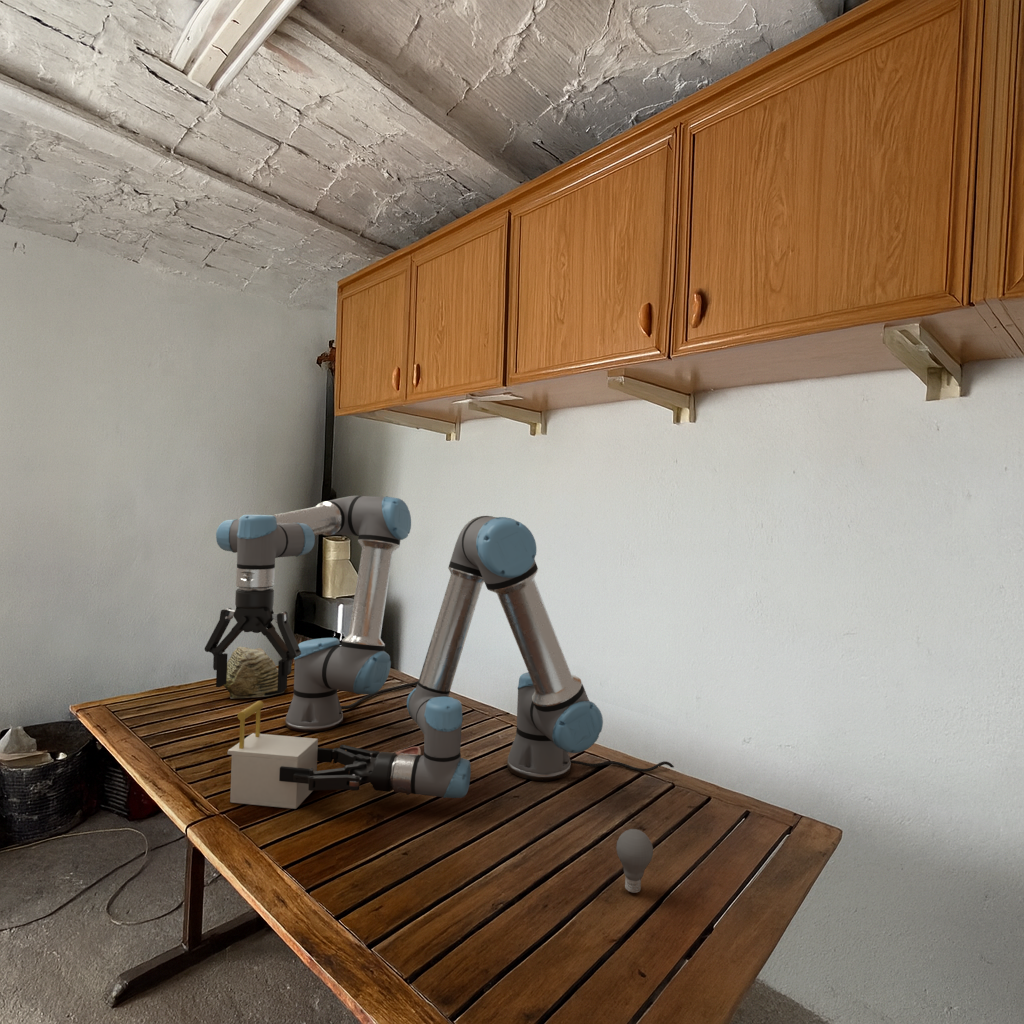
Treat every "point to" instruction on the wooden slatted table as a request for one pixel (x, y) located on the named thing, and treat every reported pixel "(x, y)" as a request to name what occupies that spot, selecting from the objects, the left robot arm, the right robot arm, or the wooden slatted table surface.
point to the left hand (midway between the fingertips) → (251, 687)
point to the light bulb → (634, 857)
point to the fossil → (251, 674)
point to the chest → (269, 780)
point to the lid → (268, 741)
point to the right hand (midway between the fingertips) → (292, 762)
